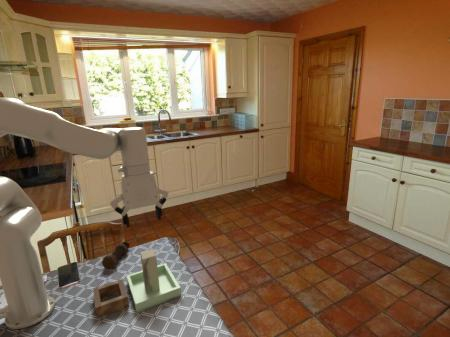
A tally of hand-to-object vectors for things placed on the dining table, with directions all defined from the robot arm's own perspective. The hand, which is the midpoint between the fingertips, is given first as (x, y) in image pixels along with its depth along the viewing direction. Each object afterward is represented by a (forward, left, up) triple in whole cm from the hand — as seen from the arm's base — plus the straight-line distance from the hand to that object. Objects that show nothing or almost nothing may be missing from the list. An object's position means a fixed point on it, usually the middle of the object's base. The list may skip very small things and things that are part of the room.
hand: (143, 222), depth 87 cm
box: (0, 0, -24) cm, 24 cm away
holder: (-13, +1, -24) cm, 27 cm away
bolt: (-7, +26, -25) cm, 37 cm away
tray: (0, 0, -24) cm, 24 cm away
